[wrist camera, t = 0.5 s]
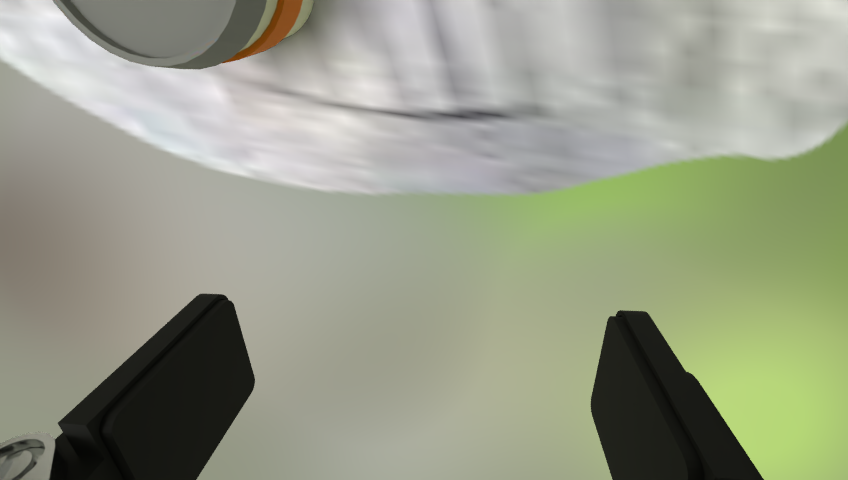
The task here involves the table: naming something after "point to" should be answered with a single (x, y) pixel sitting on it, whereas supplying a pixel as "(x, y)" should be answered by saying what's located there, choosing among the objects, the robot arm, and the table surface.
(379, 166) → the table surface
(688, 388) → the robot arm
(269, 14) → the reusable coffee cup
